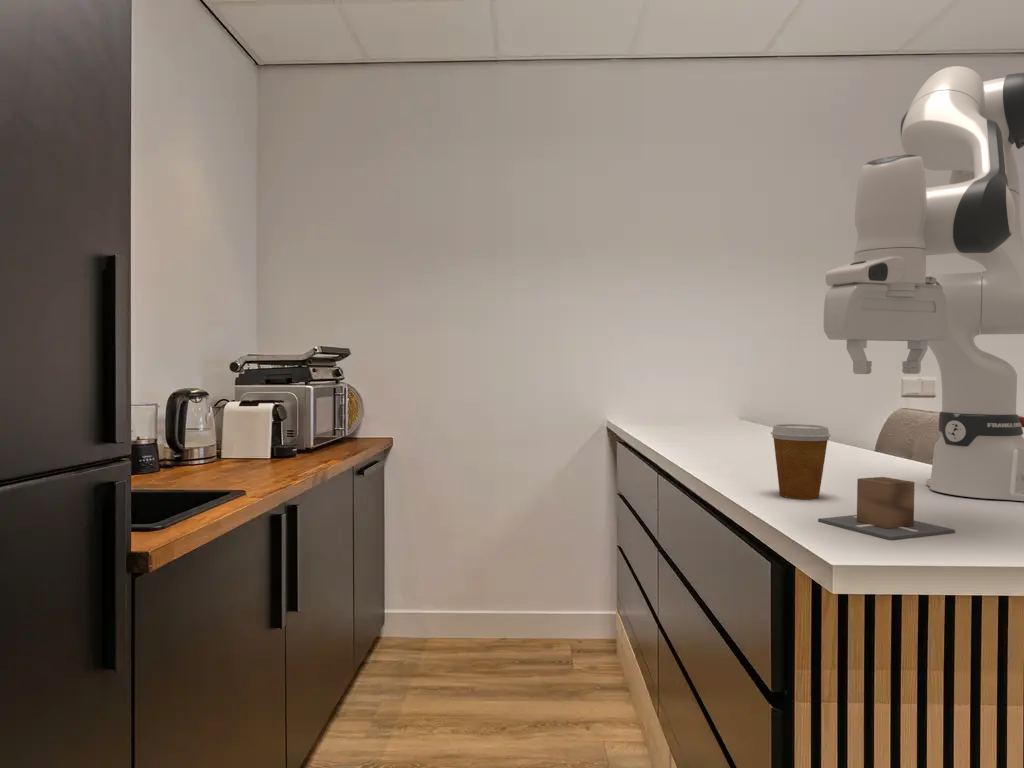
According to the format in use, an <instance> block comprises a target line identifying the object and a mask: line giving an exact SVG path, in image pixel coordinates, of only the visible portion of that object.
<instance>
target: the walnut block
mask: <svg viewBox="0 0 1024 768" xmlns="http://www.w3.org/2000/svg"><path fill="white" fill-rule="evenodd" d="M915 484H916V483H915V481H909V480H904V479H898V478H893V477H887V476H878V477H876V476H875V477H863V478H861V477H860V478H857V484H856V486H857V487H856V489H857V490H856V491H857V492H856V515H857V521H858V522H862V523H866V524H871V525H875V526H879V527H883V528H887V529H888V528H897V527H906V526H914V521H915V518H914V517H915V486H916V485H915Z"/></svg>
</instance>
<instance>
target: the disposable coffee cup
mask: <svg viewBox="0 0 1024 768" xmlns="http://www.w3.org/2000/svg"><path fill="white" fill-rule="evenodd" d="M770 434H771V435H772V436H771V437H772V438H773V445H774V453H775V463H776V472H777V482H778V490H779V495H780V496H781V497H784V498H789V499H797V500H815V499H818V498H820V493H821V486H822V479H823V472H824V467H825V459H826V453H827V447H828V446H827V445H828V441H829V440H830V437H831V434H830V432H829V427H828V426H826V425H818V424H817V425H816V424H814V425H813V424H798V423H797V424H796V423H795V424H794V423H793V424H792V423H790V424H789V423H785V424H783V423H782V424H780V423H779V424H774V425H773V428H772V431H770Z"/></svg>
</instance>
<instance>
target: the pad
mask: <svg viewBox="0 0 1024 768" xmlns="http://www.w3.org/2000/svg"><path fill="white" fill-rule="evenodd" d="M817 522H818V523H823V524H827V525H831V526H834V527H838V528H841V529H842V528H843V529H846V530H851V531H854V532H858V533H862V534H866V535H870V536H872V537H873V536H874V537H876V538H882V539H884V540H889V541H896V540H903V539H911V538H912V539H913V538H919V537H920V538H921V537H928V536H936V535H944V534H945V535H946V534H954V533H956V529H954V528H950V527H945V526H941V525H935V524H932V523H927V522H923V521H918V520H914V526H906V527H897V528H888V529H887V528H883V527H879V526H875V525H871V524H866V523H862V522H858V521H857V514H853V515H843V516H842V515H841V516H840V515H839V516H832V517H820V518H818V519H817Z"/></svg>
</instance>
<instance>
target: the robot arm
mask: <svg viewBox="0 0 1024 768" xmlns="http://www.w3.org/2000/svg"><path fill="white" fill-rule="evenodd" d="M899 133H900V141H901V146H902V149H903V151H904V153H905V154H901V155H892V156H887V157H881V158H877V159H872V160H869V161H867V163H865V164H863V165H862V167H861V169H860V173H859V177H858V181H857V182H858V183H857V188H856V195H855V206H854V207H855V209H854V211H855V212H854V226H855V229H856V233H857V241H856V245H855V248H854V256H853V259H854V260H853V262H850V263H846V264H843V265H841V266H838V267H835V268H833V269H830V270H828V271H826V273H825V283H826V286H828V287H829V288H828V289H827V291H826V293H825V295H824V300H823V301H824V302H823V332H824V333H825V335H826V337H827V339H828V340H832V341H846V350H847V353H848V354H849V356H850V358H851V361H852V372H853V373H854V375H870V374H871V373H872V367H873V366H872V360H868V358H867V355H866V352H865V350H864V349H867V346H868V345H867V344H868V341H876V342H877V341H878V342H879V341H880V342H881V341H882V342H886V341H887V342H890V341H891V342H894V341H895V342H907V349H908V350H909V353H908V356H907V358H906V360H902V364H901V365H902V370H901V371H902V373H903V374H904V375H905V374H906V375H907V374H908V375H916V374H917V375H919V374H920V373H921V370H922V366H921V363H922V361H923V358H924V357H925V356H926V353H927V351H928V348H929V349H930V350H931V352H932V353H933V355H934V357H935V359H936V361H937V364H938V366H939V371H940V372H939V373H940V379H941V392H942V393H941V394H942V395H941V399H942V400H941V401H942V402H941V406H942V407H941V411H940V412H939V416H938V420H937V422H938V431H939V432H940V436H939V439H938V440H937V441H936V442H935V444H934V450H933V457H932V464H931V473H930V478H927V479H926V480H925V485H926V486H928V487H929V490H931V491H935V492H936V493H937V492H938V493H943V494H947V495H953V496H959V497H967V498H975V499H976V498H977V499H987V500H988V499H990V500H1006V501H1018V502H1019V501H1020V502H1024V437H1023V436H1022V435H1024V432H1023V428H1024V416H1021V415H1020V416H1019V415H1018V414H1017V392H1018V389H1017V387H1018V374H1017V372H1016V369H1015V368H1014V366H1012V364H1010V363H1009V362H1008V361H1006V360H1004V359H1002V358H1000V357H998V356H996V355H994V354H991V353H989V352H986V351H985V350H982V349H980V348H979V347H978V346H977V345H976V343H975V337H977V336H980V335H1024V237H1023V232H1022V231H1023V230H1022V225H1021V221H1022V220H1021V202H1020V200H1021V193H1020V192H1021V189H1020V188H1021V187H1020V177H1019V176H1020V175H1019V170H1018V169H1019V168H1018V165H1017V161H1016V160H1017V159H1016V157H1015V153H1014V151H1013V148H1012V147H1013V145H1014V144H1015V147H1016V149H1018V150H1020V149H1021V148H1023V147H1024V72H1017V73H1011V74H1007V75H1006V77H1000V78H994V79H989V80H985V81H983V79H982V77H981V76H980V75H979V74H978V72H976V70H974V69H971V68H969V67H967V66H962V65H961V66H960V65H956V66H954V65H953V66H947V67H944V68H942V69H939V70H937V71H936V72H934V73H933V74H932V75H931V76H930V77H929V78H927V80H926V81H925V82H924V83H923V84H922V86H921V87H920V89H919V90H918V91H917V93H916V95H915V96H914V98H913V100H912V101H911V103H910V105H909V107H908V110H907V111H906V113H905V114H904V115H903V117H902V119H901V122H900V132H899ZM925 169H927V170H930V171H951V175H950V178H949V184H945V185H944V184H943V185H938V186H937V185H936V186H930V187H927V184H926V183H927V181H926V173H925ZM949 254H957V255H959V256H961V257H963V258H966V259H969V260H971V261H975V262H976V263H978V264H980V265H981V266H983V267H984V268H985V270H984V271H982V272H980V271H979V272H978V271H977V272H976V271H975V272H961V273H959V272H958V273H957V272H956V273H942V274H941V273H940V274H934V275H931V276H926V274H927V273H926V272H927V271H926V270H927V256H937V255H938V256H939V255H949Z"/></svg>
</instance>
